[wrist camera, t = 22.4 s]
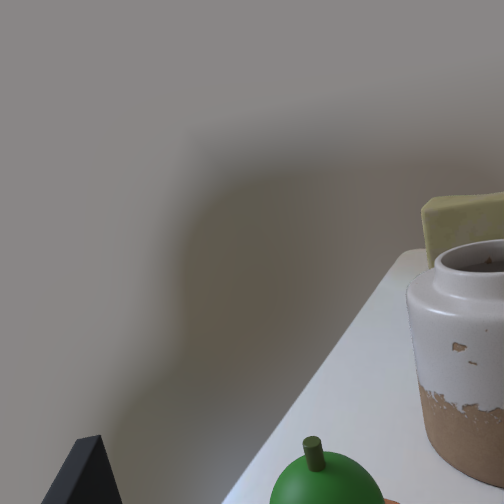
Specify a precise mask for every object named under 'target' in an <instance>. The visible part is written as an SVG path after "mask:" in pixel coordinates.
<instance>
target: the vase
mask: <svg viewBox="0 0 504 504" xmlns="http://www.w3.org/2000/svg"><path fill="white" fill-rule="evenodd" d="M406 303H407V311H408V318H409V324H410V331H411V337H412V344H413V351H414V357H415V364H416V371H417V377H418V384H419V390H420V397H421V404H422V410H423V417H424V423H425V428H426V432H427V435H428V438H429V441H430V442H431V444H432V446H433V447H434V449H435V450H436V452H437V453H438V454H439V455H440V456H441V457H442V458H443V459H444V460H445V461H446V462H447V463H449V464H450V465H451V466H453V467H454V468H456V469H457V470H459V471H461V472H462V473H464V474H466V475H468V476H470V477H472V478H475V479H477V480H479V481H482V482H485V483H488V484H491V485H494V486H498V487H502V488H504V239H497V240H488V241H481V242H475V243H470V244H466V245H462V246H458V247H455V248H452V249H450V250H447V251H445V252H443V253H442V254H440V255H439V256H438V257H437V258H436V259H435V263H434V268H431V269H429V270H427V271H425V272H423V273H421V274H419V275H418V276H416V277H415V278H414V279H413V280H412V281H411V282H410V284H409V285H408V287H407V291H406Z"/></svg>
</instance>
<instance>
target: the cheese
mask: <svg viewBox="0 0 504 504" xmlns="http://www.w3.org/2000/svg"><path fill="white" fill-rule="evenodd" d="M421 216H422V223H423V231H424V238H425V245H426V252H427V260H428V267H429V269H431V268H434V263H435V259H436V258H437V257H438V256H439V255H440V254H442V253H443V252H445V251H447V250H450V249H452V248H455V247H458V246H462V245H466V244H470V243H475V242H481V241H488V240H497V239H504V192H500V193H492V194H483V195H458V196H440V197H434V198H432V199H431V200H429V201H428V202H427V203H426V204H425V205H424V206H423V208H422V209H421Z"/></svg>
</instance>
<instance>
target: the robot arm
mask: <svg viewBox="0 0 504 504" xmlns="http://www.w3.org/2000/svg"><path fill="white" fill-rule="evenodd" d="M41 504H122V501H121V498H120V495H119V492H118V489H117V485H116V482H115V479H114V475H113V472H112V470H111V466H110V463H109V460H108V457H107V453H106V450H105V447H104V445H103V441H102V438H101V435H97V436H92V437H87V438H82V439H77V440H76V442H75V444H74V446H73V447H72V449H71V451H70V453H69V455H68V457H67V458H66V460H65V462H64V464H63V465H62V467H61V469H60V471H59V473H58V474H57V476H56V478H55V480H54V482H53V483H52V485H51V487H50V489H49V491H48V492H47V494H46V496H45V498H44V499H43V501H42V503H41Z"/></svg>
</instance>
